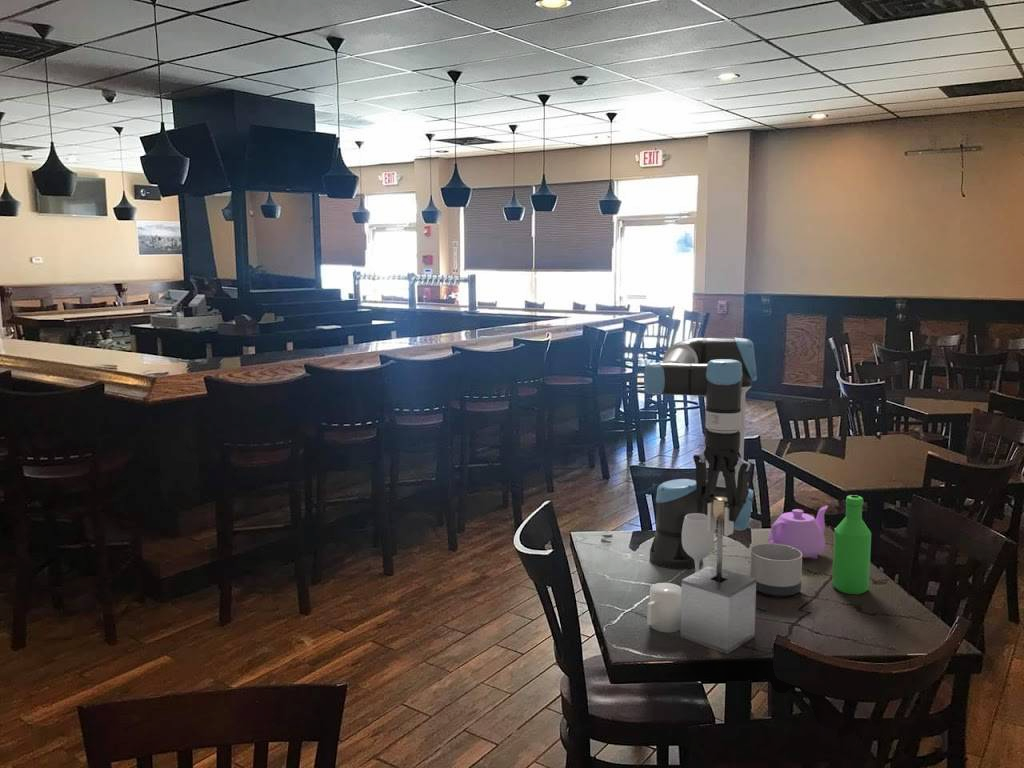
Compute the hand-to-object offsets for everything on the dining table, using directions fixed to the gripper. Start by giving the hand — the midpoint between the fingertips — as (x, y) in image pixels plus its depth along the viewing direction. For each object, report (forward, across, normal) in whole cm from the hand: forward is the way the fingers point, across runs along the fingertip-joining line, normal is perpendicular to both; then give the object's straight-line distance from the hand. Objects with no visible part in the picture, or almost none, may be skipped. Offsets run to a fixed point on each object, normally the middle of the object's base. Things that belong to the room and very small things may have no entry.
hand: (720, 531), depth 176 cm
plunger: (+15, 0, 0) cm, 15 cm away
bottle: (+25, +11, +48) cm, 55 cm away
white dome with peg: (+25, -12, -5) cm, 28 cm away
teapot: (+25, -10, +63) cm, 69 cm away
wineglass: (+25, -16, +17) cm, 34 cm away
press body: (+25, 0, 0) cm, 25 cm away
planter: (+25, -3, +34) cm, 42 cm away
